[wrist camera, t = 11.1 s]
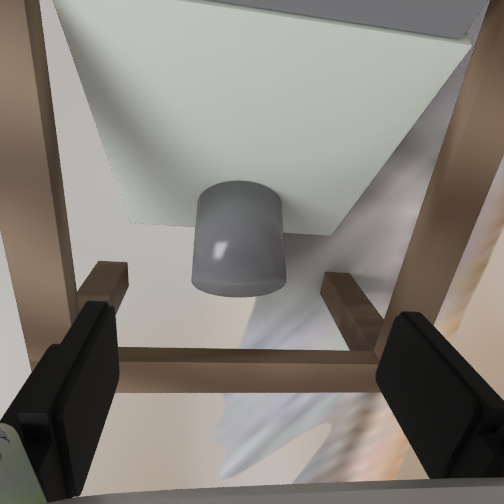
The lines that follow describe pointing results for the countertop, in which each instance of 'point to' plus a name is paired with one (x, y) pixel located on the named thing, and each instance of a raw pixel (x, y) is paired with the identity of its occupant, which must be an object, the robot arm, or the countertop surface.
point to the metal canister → (239, 240)
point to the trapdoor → (259, 95)
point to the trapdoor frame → (334, 284)
